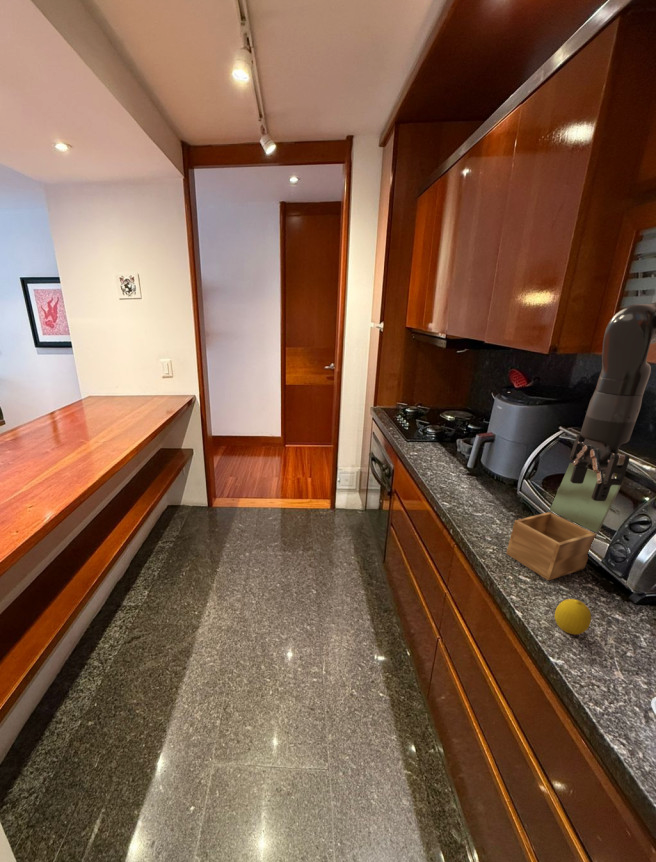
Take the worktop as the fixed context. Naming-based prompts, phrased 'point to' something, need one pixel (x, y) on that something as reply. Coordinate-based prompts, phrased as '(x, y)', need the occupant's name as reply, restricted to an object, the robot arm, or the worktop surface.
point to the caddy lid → (582, 501)
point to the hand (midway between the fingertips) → (586, 491)
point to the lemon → (573, 616)
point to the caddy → (550, 545)
